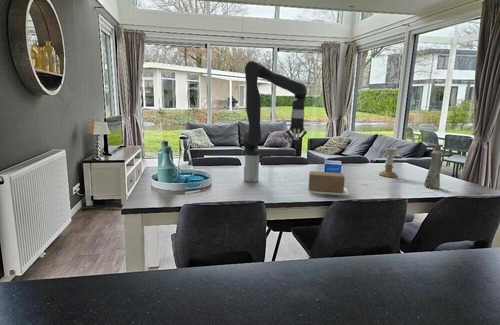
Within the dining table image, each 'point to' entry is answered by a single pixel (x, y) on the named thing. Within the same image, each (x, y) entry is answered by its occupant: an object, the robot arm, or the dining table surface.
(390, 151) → the candle holder
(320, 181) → the block
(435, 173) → the bottle
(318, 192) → the mat
